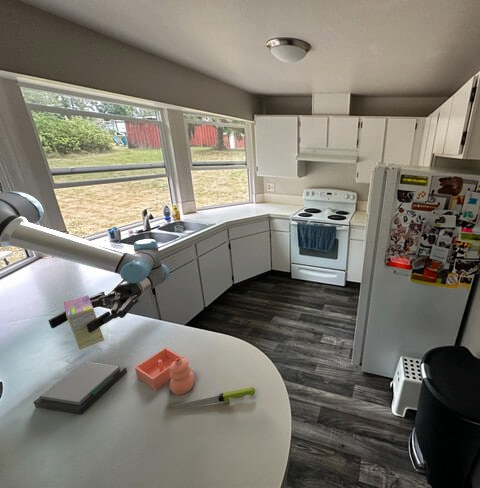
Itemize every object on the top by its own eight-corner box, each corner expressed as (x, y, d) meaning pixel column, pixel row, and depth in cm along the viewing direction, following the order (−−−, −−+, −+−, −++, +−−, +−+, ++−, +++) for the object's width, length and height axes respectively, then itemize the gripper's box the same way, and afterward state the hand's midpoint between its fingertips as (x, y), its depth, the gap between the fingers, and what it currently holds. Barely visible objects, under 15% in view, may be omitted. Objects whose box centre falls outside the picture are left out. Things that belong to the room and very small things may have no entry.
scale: (35, 407, 67) (31, 398, 66) (88, 366, 80) (85, 358, 79) (81, 414, 66) (77, 406, 65) (127, 372, 79) (124, 364, 78)
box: (75, 333, 79) (63, 301, 75) (98, 325, 83) (88, 294, 79) (79, 350, 72) (66, 316, 69) (104, 340, 77) (93, 308, 73)
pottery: (137, 377, 77) (130, 352, 74) (167, 357, 85) (162, 333, 82) (174, 403, 70) (168, 377, 66) (204, 378, 78) (199, 353, 74)
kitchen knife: (171, 415, 68) (169, 407, 67) (173, 410, 69) (170, 403, 68) (255, 397, 72) (254, 390, 71) (255, 393, 73) (254, 386, 72)
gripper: (164, 300, 92) (110, 341, 72) (106, 294, 95) (37, 332, 74) (160, 282, 90) (103, 319, 69) (101, 277, 92) (28, 311, 72)
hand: (69, 326), depth 72 cm, fingers closed on box, 11 cm apart
